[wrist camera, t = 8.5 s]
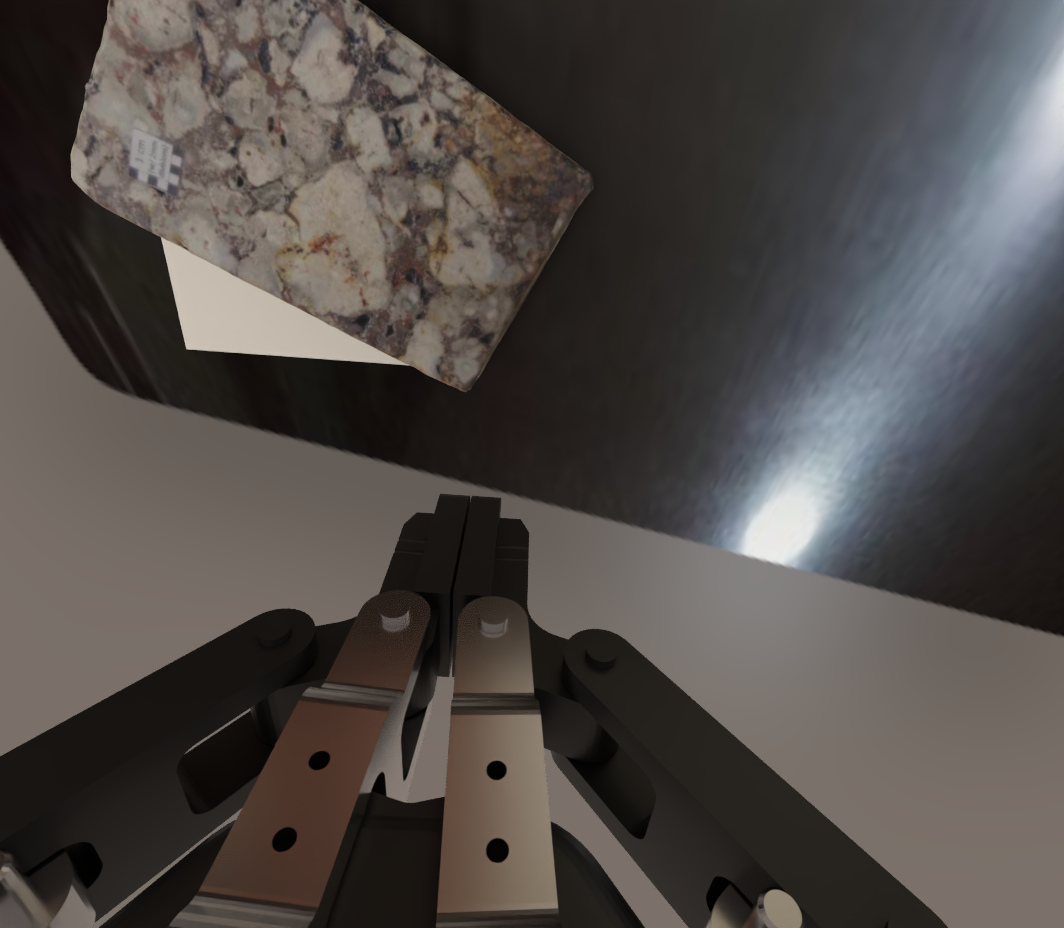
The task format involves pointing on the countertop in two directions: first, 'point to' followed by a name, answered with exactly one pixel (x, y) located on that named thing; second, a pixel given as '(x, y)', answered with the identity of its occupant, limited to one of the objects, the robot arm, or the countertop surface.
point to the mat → (251, 317)
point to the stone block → (327, 169)
